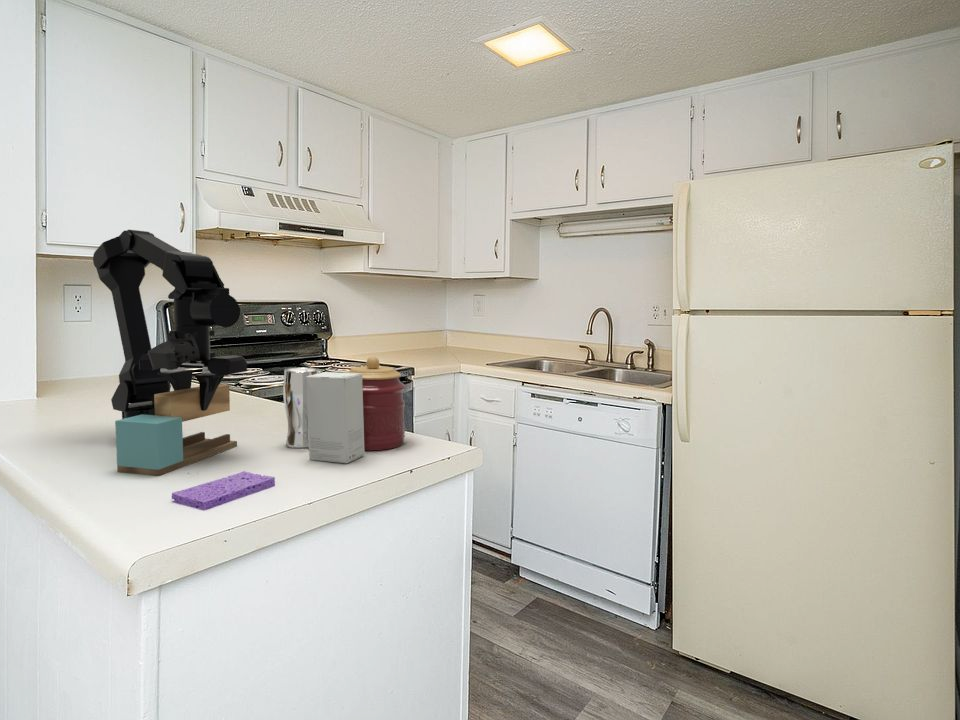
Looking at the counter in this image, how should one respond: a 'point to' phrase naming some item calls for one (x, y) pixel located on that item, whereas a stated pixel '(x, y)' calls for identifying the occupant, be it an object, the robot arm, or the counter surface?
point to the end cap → (149, 441)
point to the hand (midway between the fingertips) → (194, 409)
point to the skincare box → (335, 416)
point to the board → (190, 453)
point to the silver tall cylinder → (297, 405)
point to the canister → (381, 406)
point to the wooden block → (191, 403)
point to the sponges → (223, 490)
